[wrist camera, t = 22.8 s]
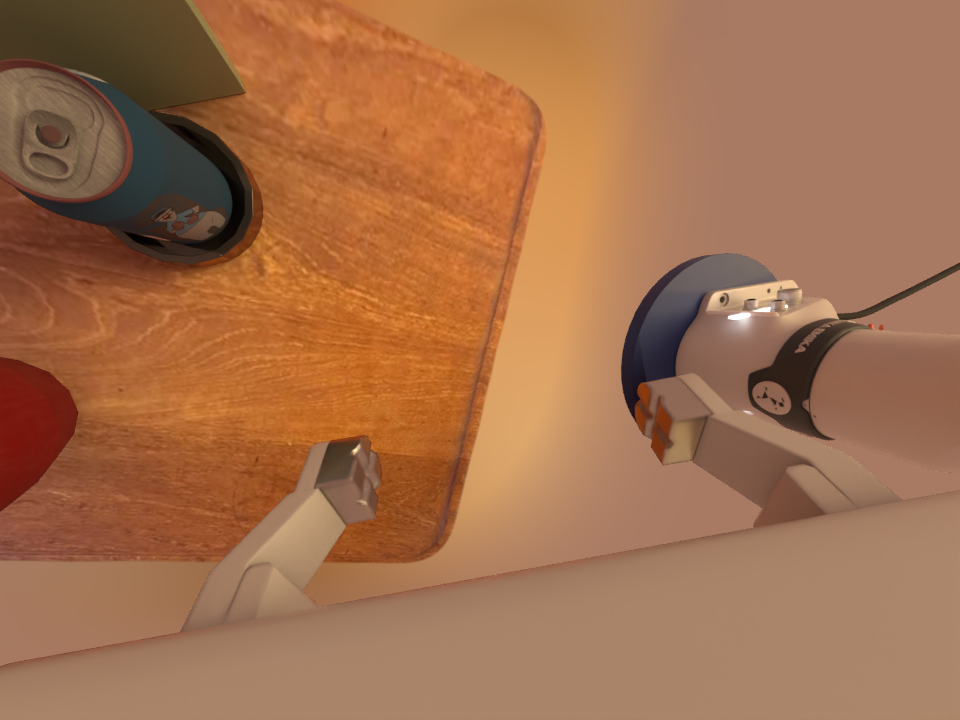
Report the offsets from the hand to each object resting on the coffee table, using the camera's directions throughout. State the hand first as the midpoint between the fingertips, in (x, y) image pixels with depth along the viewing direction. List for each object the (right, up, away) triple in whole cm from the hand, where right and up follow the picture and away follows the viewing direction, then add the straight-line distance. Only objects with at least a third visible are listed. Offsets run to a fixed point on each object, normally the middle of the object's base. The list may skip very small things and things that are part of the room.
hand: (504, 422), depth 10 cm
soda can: (-23, +14, +16) cm, 32 cm away
